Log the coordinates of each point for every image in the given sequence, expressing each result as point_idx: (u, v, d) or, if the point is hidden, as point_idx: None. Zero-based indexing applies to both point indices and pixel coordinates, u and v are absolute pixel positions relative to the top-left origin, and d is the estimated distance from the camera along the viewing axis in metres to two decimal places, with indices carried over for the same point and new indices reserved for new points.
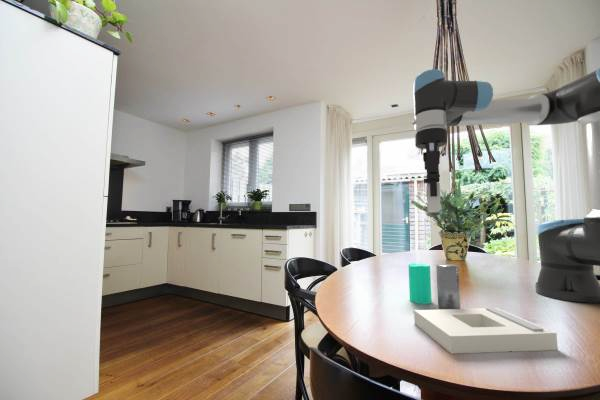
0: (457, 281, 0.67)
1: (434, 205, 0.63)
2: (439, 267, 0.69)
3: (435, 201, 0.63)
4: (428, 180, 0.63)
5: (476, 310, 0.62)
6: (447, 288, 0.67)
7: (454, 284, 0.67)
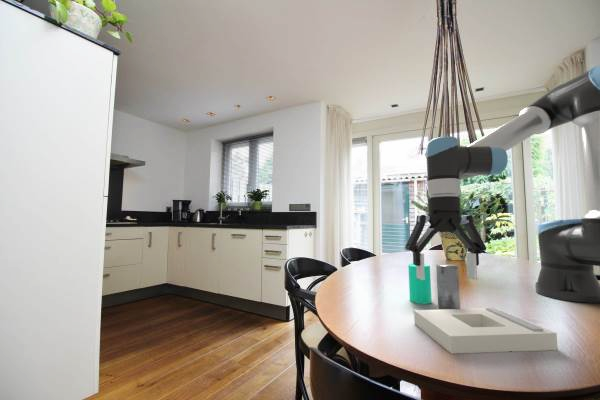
0: (457, 281, 0.67)
1: (419, 273, 0.69)
2: (439, 267, 0.69)
3: (419, 270, 0.69)
4: None
5: (476, 310, 0.62)
6: (447, 288, 0.67)
7: (454, 284, 0.67)
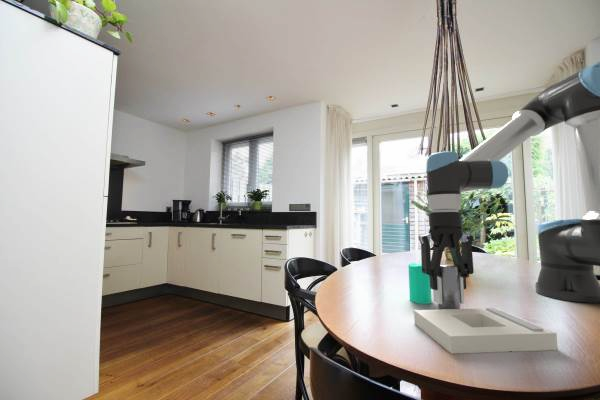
0: (457, 281, 0.67)
1: (436, 297, 0.69)
2: None
3: (436, 294, 0.69)
4: None
5: (476, 310, 0.62)
6: (447, 288, 0.67)
7: (454, 284, 0.67)
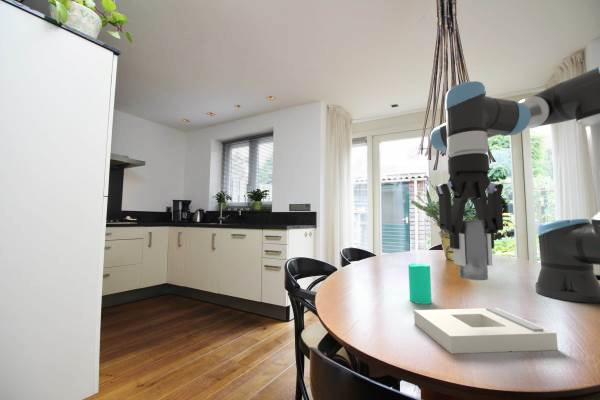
0: (484, 237, 0.55)
1: (458, 258, 0.56)
2: None
3: (458, 254, 0.56)
4: None
5: (476, 310, 0.62)
6: (471, 246, 0.55)
7: (480, 240, 0.54)
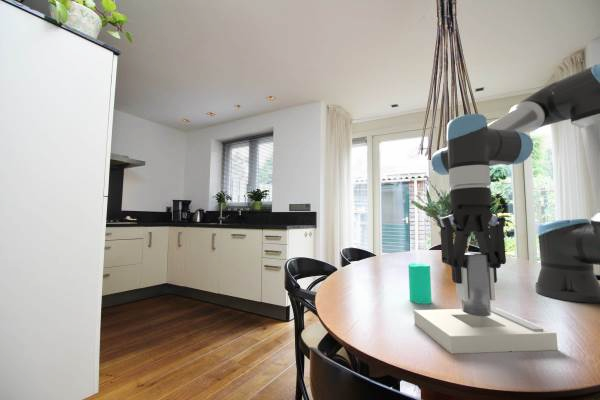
0: (486, 272, 0.54)
1: (460, 293, 0.56)
2: None
3: (460, 289, 0.56)
4: (451, 265, 0.57)
5: None
6: (474, 281, 0.54)
7: (483, 276, 0.54)
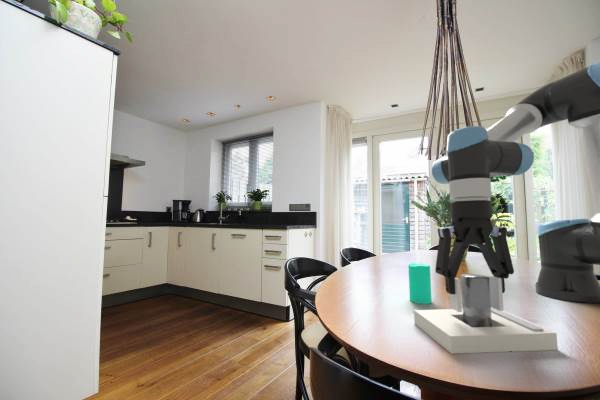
0: (488, 296, 0.54)
1: (454, 303, 0.56)
2: (465, 278, 0.56)
3: (454, 299, 0.56)
4: None
5: None
6: (476, 305, 0.54)
7: (484, 300, 0.54)
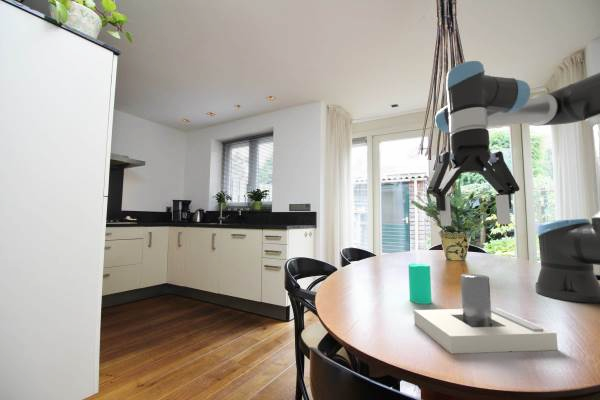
0: (488, 296, 0.54)
1: (444, 220, 0.60)
2: (465, 278, 0.56)
3: (444, 216, 0.60)
4: None
5: None
6: (476, 305, 0.54)
7: (484, 300, 0.54)
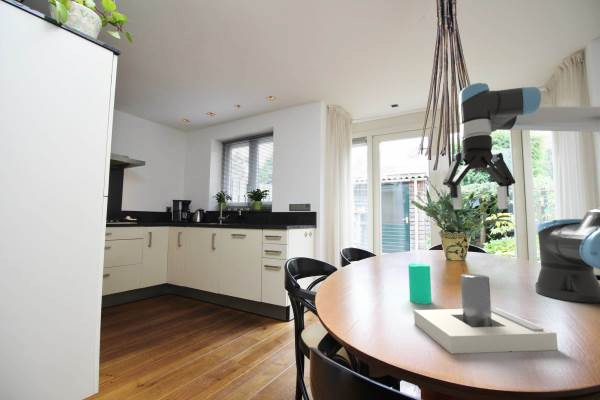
0: (488, 296, 0.54)
1: (456, 205, 0.78)
2: (465, 278, 0.56)
3: (456, 202, 0.78)
4: None
5: None
6: (476, 305, 0.54)
7: (484, 300, 0.54)
